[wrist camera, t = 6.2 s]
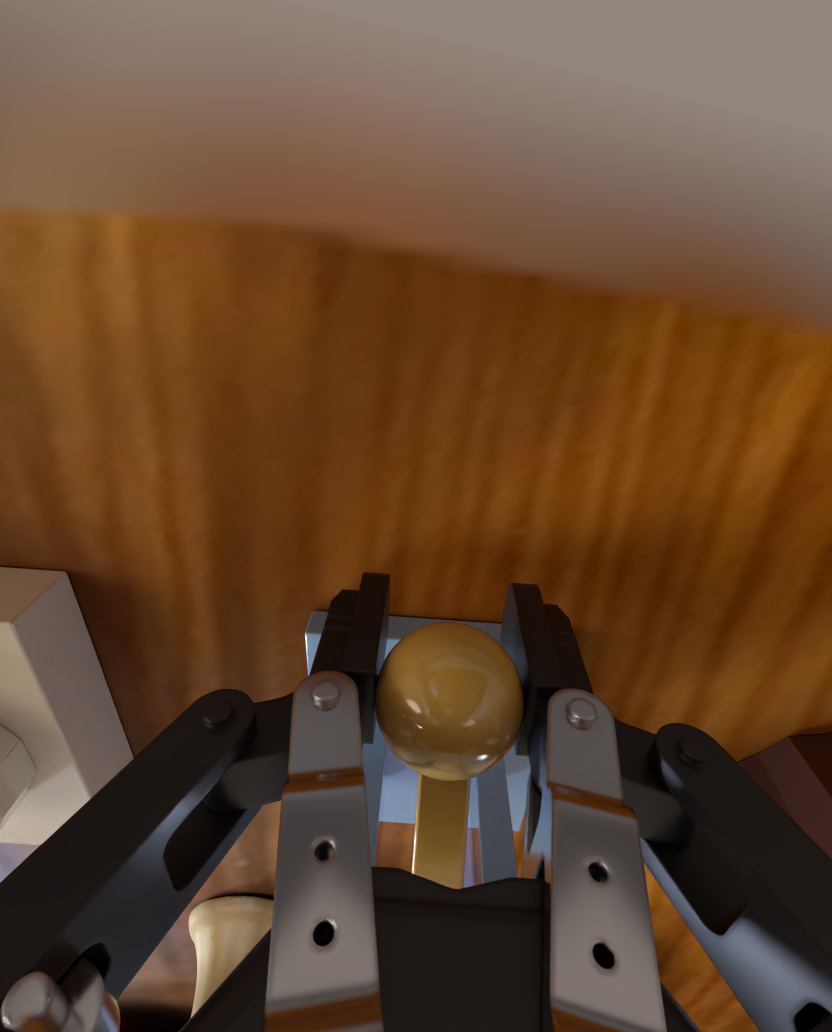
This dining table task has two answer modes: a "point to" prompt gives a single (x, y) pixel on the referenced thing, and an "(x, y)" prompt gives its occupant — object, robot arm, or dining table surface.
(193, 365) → the dining table surface
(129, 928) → the robot arm
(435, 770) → the flush lever
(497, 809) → the lever bracket
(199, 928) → the hand bell
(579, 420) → the dining table surface
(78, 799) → the dial knob panel
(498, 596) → the dining table surface
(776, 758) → the brown rounded faceted lump
